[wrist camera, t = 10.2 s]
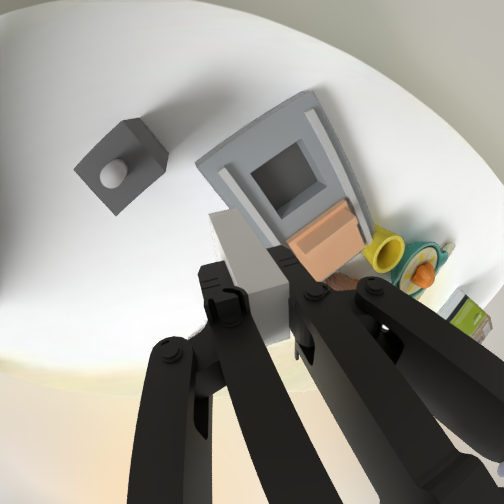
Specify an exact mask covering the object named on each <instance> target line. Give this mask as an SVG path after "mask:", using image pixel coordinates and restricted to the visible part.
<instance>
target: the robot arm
mask: <svg viewBox="0 0 504 504" xmlns="http://www.w3.org/2000/svg"><path fill="white" fill-rule="evenodd" d="M208 215H209V220H210V225H211V230H212V235H213V240H214V245H215V250H216V255H217V260H218V262H215V263H211V264H207V265H203V266H201V267H200V270H199V272H198V277H199V282H200V286H201V290H202V294H203V298H204V309H205V312H206V315H207V318H208V321H207V324H206V326H205V327H204V329H203V330H202V331H201V332H200V333H198V334H197V335H195V336H194V337H192V338H190V339H188V340H186V339H184V338H182V337H176V336H173V337H168V338H165V339H163V340H161V341H159V342H158V343H157V344H156V345H155V346H154V347H153V349H152V352H151V354H150V358H149V363H148V367H147V372H146V376H145V381H144V386H143V391H142V396H141V401H140V407H139V412H138V418H137V424H136V430H135V436H134V443H133V450H132V458H131V466H130V474H129V483H128V494H127V504H212V404H213V394H214V393H215V392H217V391H219V390H220V389H222V388H223V387H225V386H227V388H228V391H229V394H230V397H231V400H232V404H233V407H234V410H235V413H236V416H237V419H238V422H239V425H240V428H241V431H242V434H243V437H244V440H245V442H246V445H247V448H248V451H249V454H250V456H251V459H252V462H253V464H254V467H255V470H256V472H257V475H258V477H259V480H260V483H261V485H262V488H263V490H264V493H265V495H266V497H267V500H268V502H269V504H343V502H342V500H341V498H340V497H339V495H338V493H337V491H336V489H335V487H334V485H333V483H332V481H331V479H330V477H329V476H328V474H327V472H326V470H325V468H324V466H323V464H322V462H321V460H320V458H319V456H318V454H317V452H316V450H315V448H314V446H313V444H312V442H311V441H310V438H309V436H308V434H307V432H306V430H305V428H304V426H303V424H302V422H301V420H300V418H299V416H298V414H297V412H296V410H295V408H294V405H293V403H292V401H291V399H290V397H289V395H288V393H287V391H286V389H285V387H284V384H283V382H282V380H281V378H280V376H279V374H278V372H277V369H276V367H275V365H274V363H273V361H272V359H271V357H270V354H269V352H268V350H267V348H266V346H267V345H271V344H274V343H277V342H280V341H283V340H286V339H289V338H290V329H291V331H292V333H293V335H294V337H295V359H296V360H299V355H300V357H301V358H302V360H303V362H304V364H305V366H306V367H307V369H308V371H309V373H310V375H311V377H312V378H313V380H314V382H315V384H316V386H317V387H318V389H319V391H320V393H321V395H322V396H323V398H324V400H325V402H326V403H327V405H328V407H329V409H330V411H331V413H332V414H333V416H334V418H335V420H336V422H337V423H338V425H339V427H340V429H341V430H342V432H343V434H344V436H345V437H346V439H347V441H348V443H349V445H350V446H351V448H352V450H353V452H354V453H355V455H356V457H357V459H358V461H359V462H360V464H361V466H362V468H363V469H364V471H365V473H366V475H367V476H368V478H369V480H370V482H371V484H372V485H373V487H374V489H375V491H376V492H377V494H378V496H379V499H380V504H504V487H498V486H497V485H496V483H495V481H494V480H493V478H492V477H491V475H490V473H489V472H488V470H487V469H486V467H485V466H484V464H483V463H482V462H481V460H480V459H478V457H476V456H474V455H471V454H465V453H461V452H459V451H458V450H457V449H456V448H455V447H454V445H453V444H452V442H451V441H450V439H449V438H448V436H447V435H446V434H445V432H444V431H443V429H442V428H441V426H440V425H439V424H438V422H437V421H436V419H438V420H439V421H440V422H441V423H442V424H444V425H445V426H446V427H447V428H448V429H450V430H451V431H452V432H453V433H454V434H455V435H457V436H458V437H459V438H460V439H462V440H463V441H464V442H465V443H466V444H467V445H469V446H470V447H471V448H472V449H474V450H475V451H476V452H477V453H479V454H480V455H482V456H483V457H485V458H487V459H489V460H491V461H494V462H497V463H500V465H499V467H498V471H497V472H498V475H499V476H500V477H503V476H504V362H503V361H502V360H501V359H499V358H498V357H497V356H496V355H494V354H493V353H492V352H490V351H489V350H487V349H486V348H485V347H484V346H482V345H481V344H479V343H478V342H477V341H475V340H474V339H473V338H471V337H470V336H468V335H467V334H466V333H464V332H463V331H461V330H460V329H458V328H457V327H456V326H454V325H453V324H451V323H450V322H448V321H447V320H445V319H444V318H443V317H441V316H440V315H438V314H437V313H435V312H434V311H432V310H431V309H429V308H428V307H426V306H425V305H423V304H422V303H420V302H419V301H417V300H416V299H414V298H413V297H411V296H410V295H408V294H406V293H405V292H403V291H402V290H400V289H399V288H397V287H396V286H394V285H392V284H391V283H389V282H388V281H386V280H384V279H382V278H379V277H374V276H371V277H365V278H363V279H361V280H360V281H359V282H358V283H357V287H356V289H353V290H342V291H335V290H334V289H333V288H332V287H330V286H329V285H328V284H326V283H323V282H317V281H316V280H315V279H314V278H313V277H312V275H311V274H310V273H309V272H308V271H307V269H306V268H305V267H304V266H303V265H302V263H300V261H299V260H298V258H297V257H296V256H295V255H294V254H293V252H292V251H291V250H290V249H288V248H286V247H284V246H282V245H278V246H274V247H270V248H267V249H266V248H265V247H264V245H263V244H262V242H261V241H260V240H259V238H258V237H257V235H256V234H255V232H254V231H253V230H252V228H251V227H250V225H249V224H248V222H247V221H246V220H245V218H244V217H243V215H242V214H241V213H240V211H239V210H238V208H233V209H228V210H224V211H220V212H215V213H211V214H208ZM383 325H384V326H385V327H387V328H388V329H389V330H387V329H384V328H383V327H382V326H383ZM433 416H434V417H435V418H436V419H435V418H434V417H433Z"/></svg>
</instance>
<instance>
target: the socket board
mask: <svg viewBox="0 0 504 504" xmlns="http://www.w3.org/2000/svg"><path fill="white" fill-rule="evenodd" d="M195 164H196V167H197V168H198V170H199V171H200V172H201V173H202V175H203V176H204V177H205V178H206V180H207V181H208V182H209V184H210V185H211V186H212V187H213V189H214V190H215V191H216V192H217V194H218V195H219V196H220V197H221V199H222V200H223V201H224V202H225V204H226V205H227V206H228V207H229V209H233V208H238V210H239V211H240V213H241V214H242V215H243V217H244V218H245V220H246V221H247V222H248V224H249V225H250V227H251V228H252V230H253V231H254V232H255V234H256V235H257V237H258V238H259V240H260V241H261V242H262V244H263V245H264V247H265V248H266V249H267V248H270V247H274V246H278V245H282V246H284V247H286V248H288V249H290V250H291V251H292V249H291V248H290V246H289V245H288V243H287V242H286V240H287V239H289V238H290V237H291V236H293V235H294V234H295V233H297V232H298V231H299V230H301V229H302V228H304V227H305V226H306V225H308V224H309V223H310V222H312V221H313V220H315V219H316V218H317V217H319V216H320V215H321V214H323V213H324V212H325V211H327V210H328V209H329V208H331V207H332V206H334V205H335V204H336V203H338V202H339V201H340V200H342V199H344V200H345V201H346V202H347V204H348V206H349V209H350V211H351V213H352V214H353V215H354V216H356V218H357V221H358V224H357V227H358V230H359V232H360V235H361V237H362V240H363V242H364V245H365V246H366V244H367V245H370V244H371V242H372V241H373V239H372V237H371V236H372V235H373V234H374V233H375V232H376V230H375V227H374V224H373V222H372V219H371V216H370V213H369V211H368V208H367V205H366V203H365V200H364V197H363V195H362V192H361V190H360V187H359V185H358V183H357V180H356V178H355V175H354V173H353V171H352V168H351V166H350V164H349V162H348V159H347V157H346V155H345V153H344V151H343V149H342V146H341V144H340V142H339V140H338V138H337V136H336V134H335V132H334V130H333V128H332V126H331V124H330V122H329V120H328V118H327V116H326V114H325V113H324V111H323V109H322V107H321V105H320V103H319V102H318V100H317V98H316V96H315V94H314V93H313V91H302V92H300V93H298V94H297V95H295V96H293V97H291V98H290V99H288V100H286V101H285V102H283V103H281V104H280V105H278V106H276V107H275V108H273V109H271V110H270V111H268V112H267V113H265V114H263V115H262V116H260V117H259V118H257V119H256V120H254V121H253V122H251V123H250V124H248V125H247V126H245V127H244V128H242V129H241V130H239V131H238V132H236V133H235V134H233V135H232V136H230V137H229V138H227V139H226V140H225V141H223V142H222V143H220V144H219V145H218V146H216V147H215V148H214V149H212V150H211V151H209V152H208V153H207V154H205V155H204V156H203V157H201V158H200V159H199V160H197V161H196V162H195ZM364 249H365V248H364ZM364 249H362V250H361V251H360V252H359V253H361V252H362V251H363V250H364ZM292 252H293V251H292ZM359 253H357V254H356V255H355V256H357V255H358V254H359ZM293 254H294V252H293ZM294 255H295V254H294ZM295 256H296V255H295ZM355 256H353V257H352V258H351V259H350V260H352V259H353V258H354V257H355ZM350 260H348V261H347V262H346V263H348V262H349V261H350ZM346 263H344V264H343V265H342V266H344V265H345V264H346ZM342 266H340V267H339V268H338V269H340V268H341V267H342ZM338 269H336V270H335V271H334V272H336V271H337V270H338ZM334 272H332V273H331V274H330V275H332V274H333V273H334ZM330 275H328V276H327V277H326V278H328V277H329V276H330ZM326 278H324V279H323V280H322V281H324V280H325V279H326ZM322 281H320V282H322Z"/></svg>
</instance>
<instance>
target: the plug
mask: <svg viewBox="0 0 504 504" xmlns="http://www.w3.org/2000/svg"><path fill="white" fill-rule="evenodd" d="M168 154H169V153H168V152H167V151H166V150H165V148H164V147H163V146H162V145H161V144H160V142H159V141H158V140H157V139H156V138H155V136H154V135H153V134H152V133H151V131H150V130H149V129H148V128H147V127H146V125H145V124H144V123H143V122H142V120H141V119H140V118H134V119H128V120H122V121H121V122H120V123H119V124H118V125H117V126H116V127H115V128H113V129H112V130H111V131H110V132H109V133H108V134H107V135H106V136H105V137H104V138H103V139H102V140H101V141H100V142H99V143H98V144H97V145H96V146H95V147H94V148H93V149H92V150H91V151H90V152H89V153H88V154H87V155H86V156H85V157H84V158H83V159H82V160H81V161H80V163H79V164H78V165H77V166H76V167H75V168H74V171H75V172H76V173H77V174H78V175H79V176H80V178H81V179H82V180H83V181H84V182H85V183H86V184H87V185H88V187H89V188H90V189H91V190H92V191H93V192H94V193H95V194H96V195H97V196H98V198H99V199H100V200H101V201H102V202H103V203H104V204H105V205H106V206H107V207H108V208H109V209H110V210H111V211H112V213H113V214H114V215H115V216H117V215H118V214H119V213H120V212H121V211H122V210H123V209H124V208H125V207H126V206H128V205H129V204H130V203H131V202H132V201H133V200H134V199H135V198H136V197H137V196H138V195H140V194H141V193H142V192H143V191H144V190H145V189H146V188H148V187H149V186H150V185H151V184H152V183H153V182H155V181H156V180H157V179H158V178H159V177H160V176H162V175H163V174H164V173H165V172H166V166H167V160H168Z"/></svg>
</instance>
